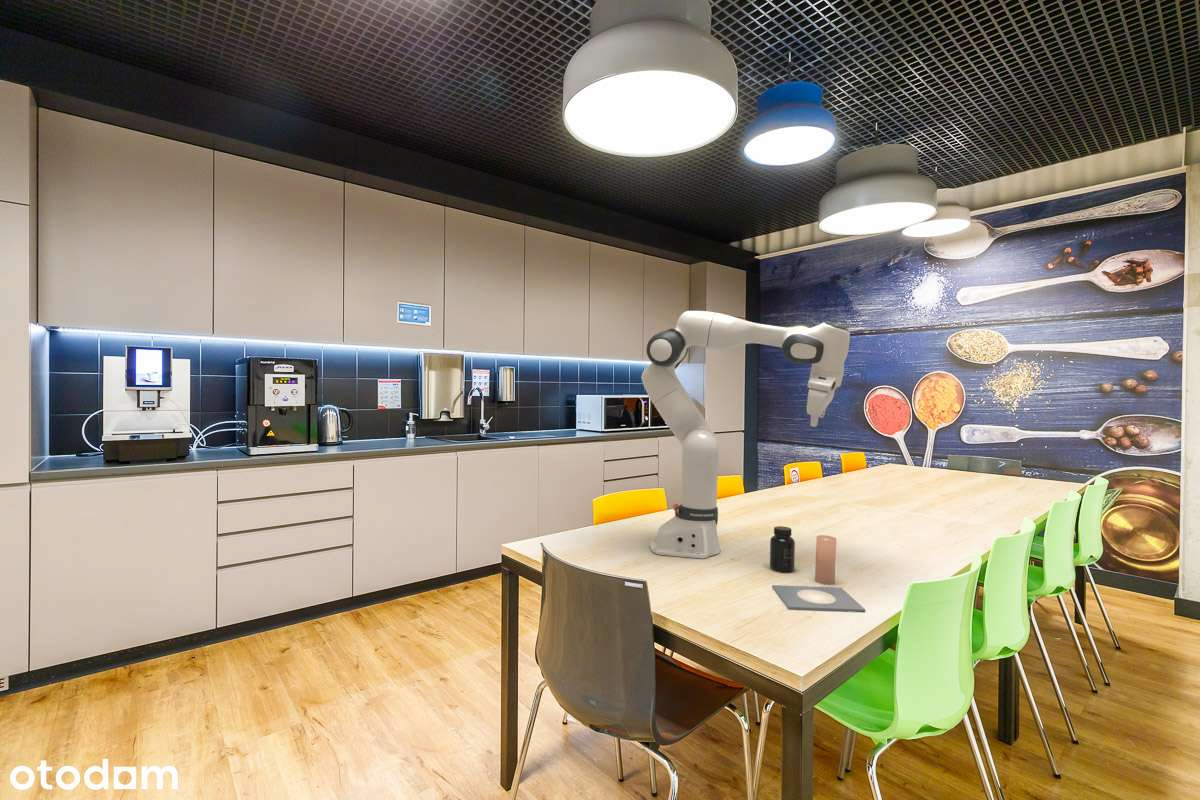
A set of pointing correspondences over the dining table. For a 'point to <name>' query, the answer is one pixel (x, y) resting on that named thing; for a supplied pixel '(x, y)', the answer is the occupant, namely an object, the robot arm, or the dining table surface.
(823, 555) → the terracotta tube
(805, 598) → the card
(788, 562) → the supplement bottle
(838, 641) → the dining table surface
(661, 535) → the robot arm
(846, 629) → the dining table surface
